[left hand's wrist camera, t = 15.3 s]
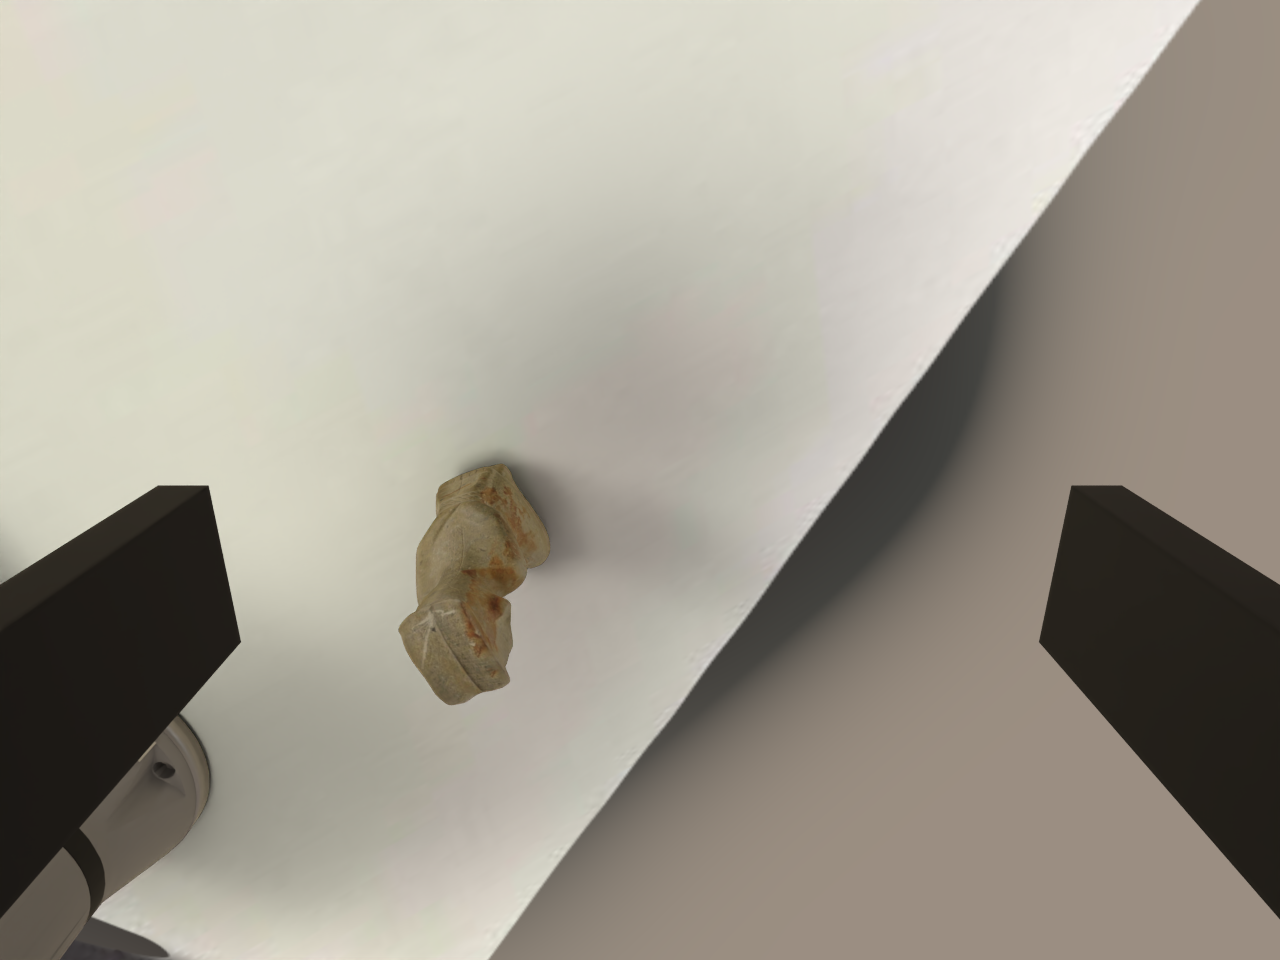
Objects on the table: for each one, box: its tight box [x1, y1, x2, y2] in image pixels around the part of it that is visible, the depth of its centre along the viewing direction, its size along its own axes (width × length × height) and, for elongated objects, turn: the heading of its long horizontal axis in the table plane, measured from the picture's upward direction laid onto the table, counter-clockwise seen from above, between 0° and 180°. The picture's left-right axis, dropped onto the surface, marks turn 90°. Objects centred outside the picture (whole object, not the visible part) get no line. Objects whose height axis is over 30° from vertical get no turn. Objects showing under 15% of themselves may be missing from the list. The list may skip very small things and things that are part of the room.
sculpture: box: [399, 464, 550, 705], centre depth 40 cm, size 6×7×15 cm
